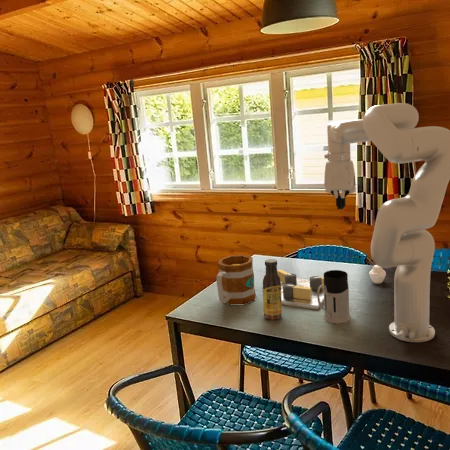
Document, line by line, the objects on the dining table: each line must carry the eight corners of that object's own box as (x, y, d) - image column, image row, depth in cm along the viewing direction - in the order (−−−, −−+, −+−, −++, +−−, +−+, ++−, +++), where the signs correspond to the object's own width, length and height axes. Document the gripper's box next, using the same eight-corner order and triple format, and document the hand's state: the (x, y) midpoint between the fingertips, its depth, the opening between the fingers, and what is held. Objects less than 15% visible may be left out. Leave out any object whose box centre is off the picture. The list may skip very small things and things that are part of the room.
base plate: (317, 309, 155) (317, 299, 154) (264, 301, 165) (264, 292, 164) (337, 286, 173) (336, 277, 172) (288, 280, 183) (288, 272, 182)
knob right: (310, 290, 167) (310, 279, 166) (309, 286, 171) (308, 275, 170) (339, 289, 166) (339, 278, 165) (337, 284, 170) (336, 273, 169)
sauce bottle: (267, 322, 149) (263, 265, 144) (261, 314, 155) (256, 259, 150) (286, 318, 151) (282, 261, 146) (278, 311, 157) (275, 256, 152)
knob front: (281, 297, 163) (280, 286, 162) (286, 293, 167) (285, 282, 166) (308, 301, 158) (308, 290, 157) (313, 296, 162) (312, 285, 161)
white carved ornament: (387, 284, 170) (387, 267, 169) (370, 285, 171) (370, 267, 170) (384, 278, 176) (384, 261, 175) (368, 279, 177) (367, 262, 176)
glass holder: (356, 315, 148) (354, 272, 144) (331, 332, 139) (329, 286, 135) (333, 309, 154) (331, 267, 151) (307, 324, 145) (305, 280, 141)
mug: (232, 289, 180) (228, 253, 176) (262, 293, 173) (259, 256, 169) (205, 309, 164) (200, 270, 160) (237, 314, 157) (234, 274, 153)
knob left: (299, 285, 173) (298, 274, 172) (289, 288, 171) (288, 277, 170) (283, 278, 182) (283, 267, 181) (274, 280, 180) (273, 270, 179)
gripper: (315, 159, 159) (317, 210, 163) (358, 158, 151) (359, 211, 156) (322, 156, 165) (324, 205, 169) (363, 155, 157) (364, 206, 162)
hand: (340, 208), depth 163 cm, fingers closed
